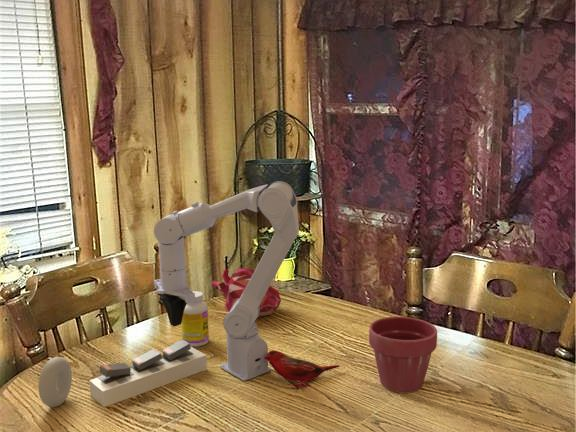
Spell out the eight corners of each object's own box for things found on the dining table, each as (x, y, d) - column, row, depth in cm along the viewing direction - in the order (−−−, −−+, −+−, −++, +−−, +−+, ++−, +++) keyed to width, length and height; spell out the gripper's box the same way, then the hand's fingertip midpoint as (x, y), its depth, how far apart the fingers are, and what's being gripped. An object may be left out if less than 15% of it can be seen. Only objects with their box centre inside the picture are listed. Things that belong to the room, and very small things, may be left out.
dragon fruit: (274, 299, 186) (211, 278, 182) (289, 272, 178) (223, 250, 174) (269, 335, 175) (202, 314, 171) (285, 308, 167) (215, 286, 164)
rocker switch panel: (206, 369, 142) (206, 353, 141) (104, 407, 126) (102, 389, 125) (191, 360, 147) (190, 344, 146) (90, 395, 131) (89, 378, 130)
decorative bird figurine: (267, 390, 132) (260, 355, 140) (345, 391, 136) (334, 357, 145) (270, 381, 130) (263, 346, 138) (348, 382, 135) (337, 348, 143)
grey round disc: (61, 391, 133) (57, 348, 131) (76, 392, 133) (72, 349, 130) (37, 416, 123) (32, 369, 121) (54, 417, 123) (49, 370, 121)
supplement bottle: (206, 347, 154) (204, 298, 151) (180, 347, 154) (177, 298, 151) (210, 336, 161) (208, 289, 158) (185, 337, 161) (182, 289, 158)
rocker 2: (162, 358, 137) (160, 352, 137) (140, 370, 134) (138, 364, 134) (154, 354, 140) (153, 348, 139) (133, 365, 136) (131, 359, 136)
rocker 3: (190, 348, 142) (189, 343, 142) (170, 360, 139) (169, 354, 138) (183, 344, 144) (182, 338, 144) (163, 355, 141) (161, 350, 141)
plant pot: (412, 364, 144) (413, 311, 141) (448, 391, 131) (451, 334, 128) (357, 375, 138) (357, 321, 136) (389, 404, 126) (390, 345, 123)
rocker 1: (130, 374, 133) (130, 367, 132) (105, 377, 129) (106, 370, 129) (123, 369, 135) (124, 362, 135) (99, 372, 131) (100, 365, 131)
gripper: (141, 264, 143) (145, 320, 146) (174, 278, 132) (177, 338, 135) (168, 258, 147) (171, 312, 150) (202, 272, 137) (204, 329, 140)
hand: (176, 324), depth 143 cm, fingers closed
